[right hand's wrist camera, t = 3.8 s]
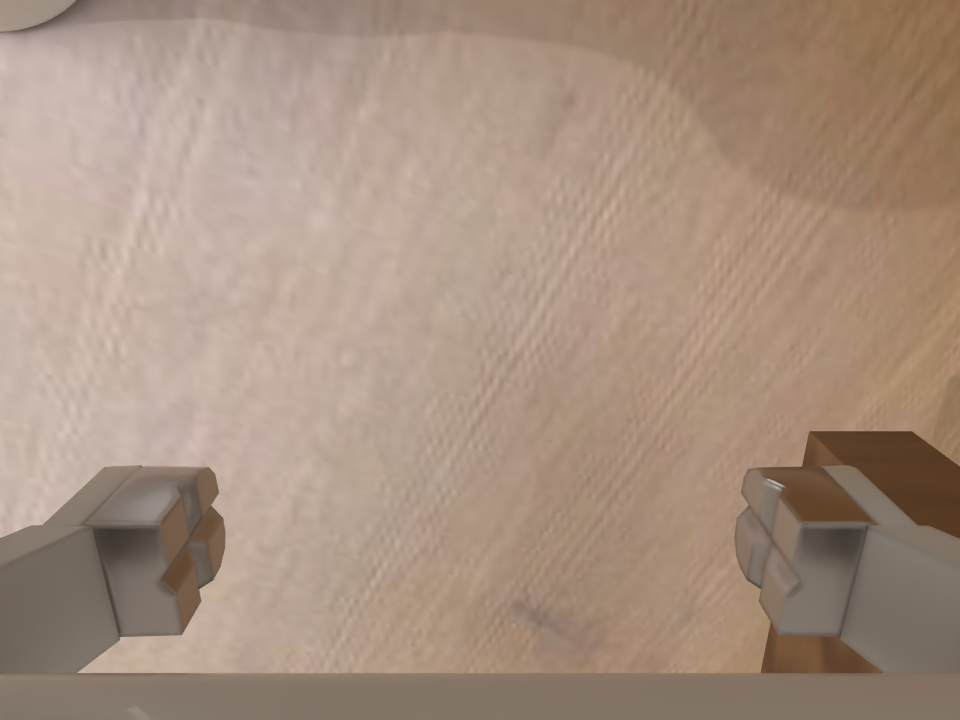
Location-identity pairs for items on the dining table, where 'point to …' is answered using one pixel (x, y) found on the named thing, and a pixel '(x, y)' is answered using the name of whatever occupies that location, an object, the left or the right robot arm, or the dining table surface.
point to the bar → (909, 485)
